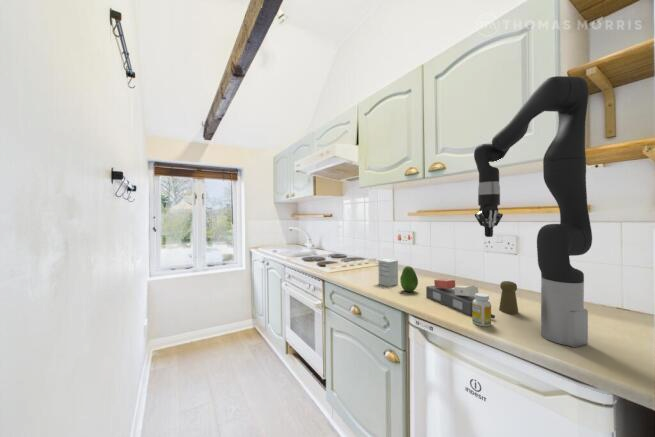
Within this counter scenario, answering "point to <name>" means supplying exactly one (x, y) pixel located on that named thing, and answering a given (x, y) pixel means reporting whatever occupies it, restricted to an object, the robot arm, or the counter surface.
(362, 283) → the counter surface
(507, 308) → the cork
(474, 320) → the supplement bottle
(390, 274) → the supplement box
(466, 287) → the rocker
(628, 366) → the counter surface
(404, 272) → the avocado
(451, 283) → the rocker
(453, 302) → the power strip
